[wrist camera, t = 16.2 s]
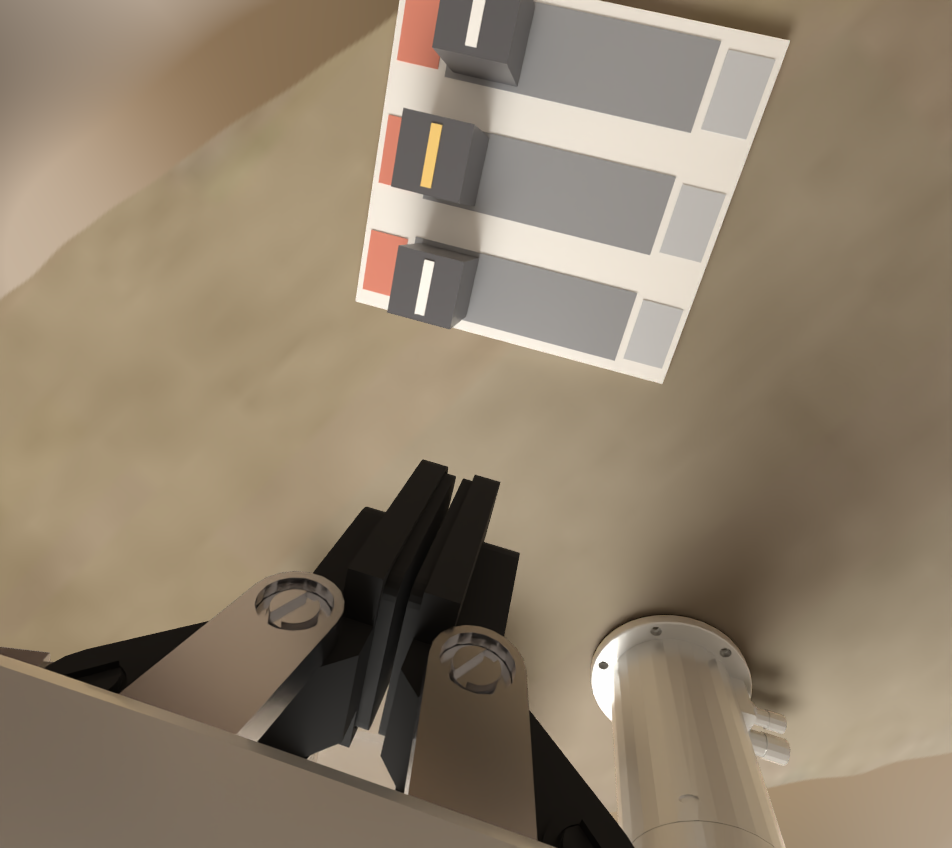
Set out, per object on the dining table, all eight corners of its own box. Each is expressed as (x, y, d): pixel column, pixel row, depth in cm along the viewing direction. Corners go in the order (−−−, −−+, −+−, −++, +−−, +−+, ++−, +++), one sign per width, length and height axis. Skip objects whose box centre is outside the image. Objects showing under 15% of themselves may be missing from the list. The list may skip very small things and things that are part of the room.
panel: (782, 47, 31) (831, 3, 25) (659, 379, 38) (674, 407, 32) (411, -32, 33) (373, -89, 27) (361, 299, 40) (323, 311, 34)
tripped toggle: (489, 138, 34) (474, 123, 29) (474, 206, 35) (458, 203, 31) (427, 123, 34) (402, 107, 30) (415, 191, 36) (390, 186, 31)
